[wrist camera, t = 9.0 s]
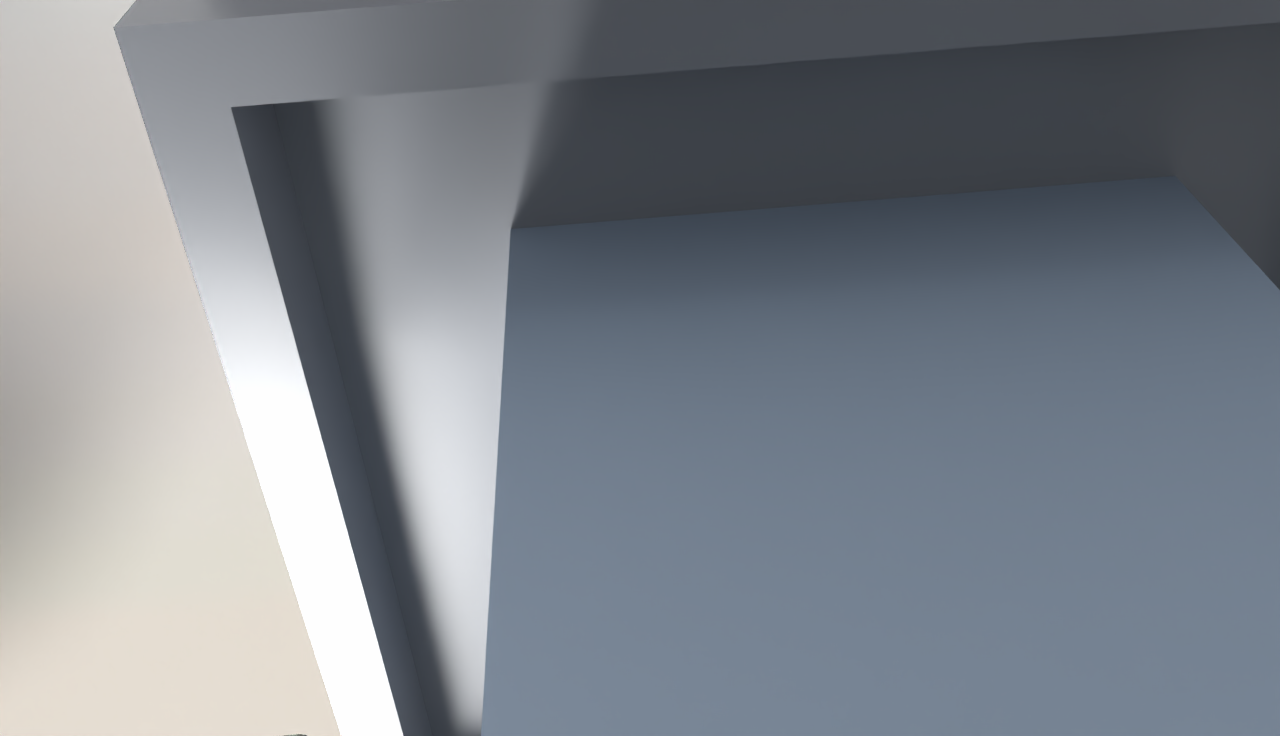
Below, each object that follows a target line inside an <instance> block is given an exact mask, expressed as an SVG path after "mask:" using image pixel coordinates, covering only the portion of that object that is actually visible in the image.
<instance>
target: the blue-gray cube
mask: <svg viewBox="0 0 1280 736" xmlns="http://www.w3.org/2000/svg"><path fill="white" fill-rule="evenodd" d="M481 736H1280V290H1279V289H1278V288H1277V287H1276V285H1275V284H1274V283H1273V282H1272V281H1271V280H1270V279H1269V278H1268V277H1267V276H1266V275H1265V273H1264V272H1263V271H1262V270H1261V269H1260V268H1259V267H1258V266H1257V265H1256V264H1255V262H1254V261H1253V260H1252V259H1251V258H1250V257H1249V256H1248V255H1247V254H1246V253H1245V252H1244V250H1243V249H1242V248H1241V247H1240V246H1239V245H1238V244H1237V243H1236V242H1235V241H1234V240H1233V238H1232V237H1231V236H1230V235H1229V234H1228V233H1227V232H1226V231H1225V230H1224V229H1223V227H1222V226H1221V225H1220V224H1219V223H1218V222H1217V221H1216V220H1215V219H1214V218H1213V217H1212V215H1211V214H1210V213H1209V212H1208V211H1207V210H1206V209H1205V208H1204V207H1203V206H1202V205H1201V203H1200V202H1199V201H1198V200H1197V199H1196V198H1195V197H1194V196H1193V195H1192V194H1191V192H1190V191H1189V190H1188V189H1187V188H1186V187H1185V186H1184V185H1183V184H1182V183H1181V182H1180V180H1179V179H1178V178H1177V177H1176V176H1168V177H1156V178H1143V179H1131V180H1118V181H1106V182H1093V183H1081V184H1068V185H1056V186H1043V187H1031V188H1018V189H1006V190H993V191H981V192H968V193H956V194H943V195H931V196H918V197H906V198H893V199H881V200H868V201H856V202H843V203H831V204H818V205H806V206H793V207H781V208H768V209H756V210H743V211H731V212H718V213H706V214H693V215H681V216H668V217H656V218H643V219H631V220H618V221H606V222H593V223H581V224H568V225H556V226H543V227H531V228H518V229H511V231H510V248H509V265H508V282H507V300H506V317H505V334H504V351H503V368H502V385H501V402H500V419H499V437H498V454H497V471H496V488H495V505H494V522H493V539H492V557H491V574H490V591H489V608H488V625H487V642H486V660H485V677H484V694H483V711H482V728H481Z"/></svg>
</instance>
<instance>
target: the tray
mask: <svg viewBox="0 0 1280 736" xmlns="http://www.w3.org/2000/svg"><path fill="white" fill-rule="evenodd" d="M114 30H115V34H116V37H117V40H118V43H119V46H120V49H121V52H122V55H123V58H124V62H125V65H126V68H127V71H128V74H129V77H130V80H131V83H132V86H133V90H134V93H135V96H136V99H137V102H138V105H139V108H140V111H141V114H142V118H143V121H144V124H145V127H146V130H147V133H148V136H149V139H150V142H151V146H152V149H153V152H154V155H155V158H156V161H157V164H158V167H159V170H160V174H161V177H162V180H163V183H164V186H165V189H166V192H167V195H168V198H169V202H170V205H171V208H172V211H173V214H174V217H175V220H176V223H177V226H178V230H179V233H180V236H181V239H182V242H183V245H184V248H185V251H186V254H187V258H188V261H189V264H190V267H191V270H192V273H193V276H194V279H195V282H196V286H197V289H198V292H199V295H200V298H201V301H202V304H203V307H204V310H205V313H206V317H207V320H208V323H209V326H210V329H211V332H212V335H213V338H214V341H215V345H216V348H217V351H218V354H219V357H220V360H221V363H222V366H223V369H224V373H225V376H226V379H227V382H228V385H229V388H230V391H231V394H232V397H233V401H234V404H235V407H236V410H237V413H238V416H239V419H240V422H241V425H242V429H243V432H244V435H245V438H246V441H247V444H248V447H249V450H250V453H251V457H252V460H253V463H254V466H255V469H256V472H257V475H258V478H259V481H260V485H261V488H262V491H263V494H264V497H265V500H266V503H267V506H268V509H269V513H270V516H271V519H272V522H273V525H274V528H275V531H276V534H277V537H278V541H279V544H280V547H281V550H282V553H283V556H284V559H285V562H286V565H287V569H288V572H289V575H290V578H291V581H292V584H293V587H294V590H295V593H296V597H297V600H298V603H299V606H300V609H301V612H302V615H303V618H304V621H305V624H306V628H307V631H308V634H309V637H310V640H311V643H312V646H313V649H314V652H315V656H316V659H317V662H318V665H319V668H320V671H321V674H322V677H323V680H324V684H325V687H326V690H327V693H328V696H329V699H330V702H331V705H332V708H333V712H334V715H335V718H336V721H337V724H338V727H339V730H340V733H341V736H481V728H482V711H483V694H484V677H485V660H486V642H487V625H488V608H489V591H490V574H491V557H492V539H493V522H494V505H495V488H496V471H497V454H498V437H499V419H500V402H501V385H502V368H503V351H504V334H505V317H506V300H507V282H508V265H509V248H510V231H511V229H518V228H531V227H543V226H556V225H568V224H581V223H593V222H606V221H618V220H631V219H643V218H656V217H668V216H681V215H693V214H706V213H718V212H731V211H743V210H756V209H768V208H781V207H793V206H806V205H818V204H831V203H843V202H856V201H868V200H881V199H893V198H906V197H918V196H931V195H943V194H956V193H968V192H981V191H993V190H1006V189H1018V188H1031V187H1043V186H1056V185H1068V184H1081V183H1093V182H1106V181H1118V180H1131V179H1143V178H1156V177H1168V176H1176V177H1177V178H1178V179H1179V180H1180V182H1181V183H1182V184H1183V185H1184V186H1185V187H1186V188H1187V189H1188V190H1189V191H1190V192H1191V194H1192V195H1193V196H1194V197H1195V198H1196V199H1197V200H1198V201H1199V202H1200V203H1201V205H1202V206H1203V207H1204V208H1205V209H1206V210H1207V211H1208V212H1209V213H1210V214H1211V215H1212V217H1213V218H1214V219H1215V220H1216V221H1217V222H1218V223H1219V224H1220V225H1221V226H1222V227H1223V229H1224V230H1225V231H1226V232H1227V233H1228V234H1229V235H1230V236H1231V237H1232V238H1233V240H1234V241H1235V242H1236V243H1237V244H1238V245H1239V246H1240V247H1241V248H1242V249H1243V250H1244V252H1245V253H1246V254H1247V255H1248V256H1249V257H1250V258H1251V259H1252V260H1253V261H1254V262H1255V264H1256V265H1257V266H1258V267H1259V268H1260V269H1261V270H1262V271H1263V272H1264V273H1265V275H1266V276H1267V277H1268V278H1269V279H1270V280H1271V281H1272V282H1273V283H1274V284H1275V285H1276V287H1277V288H1278V289H1279V290H1280V0H136V1H135V2H134V4H133V5H132V6H131V7H130V8H129V10H128V11H127V12H126V13H125V14H124V16H123V17H122V18H121V19H120V21H119V22H118V23H117V24H116V25H115V27H114Z"/></svg>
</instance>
